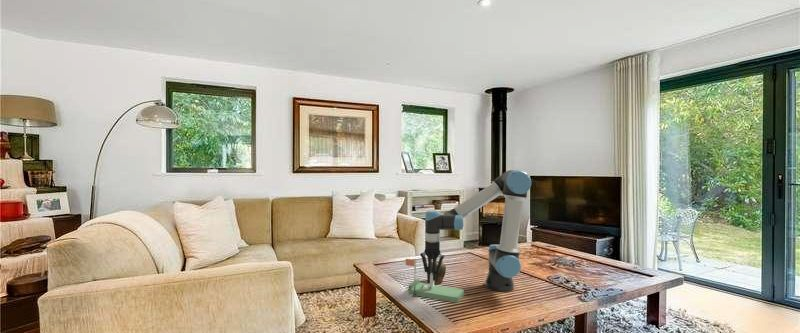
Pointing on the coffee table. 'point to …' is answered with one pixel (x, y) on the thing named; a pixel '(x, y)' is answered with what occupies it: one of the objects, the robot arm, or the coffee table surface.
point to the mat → (436, 292)
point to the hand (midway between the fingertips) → (432, 286)
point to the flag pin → (413, 263)
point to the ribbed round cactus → (440, 275)
